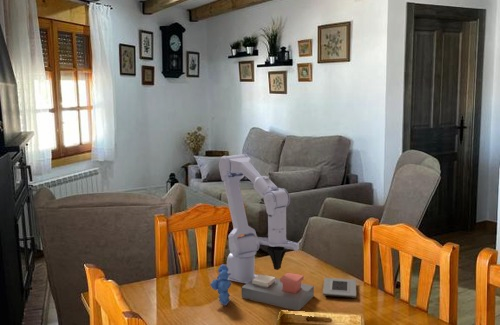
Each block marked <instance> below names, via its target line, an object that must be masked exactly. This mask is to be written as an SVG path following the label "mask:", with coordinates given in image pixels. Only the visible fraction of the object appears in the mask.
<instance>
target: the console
mask: <svg viewBox="0 0 500 325" xmlns="http://www.w3.org/2000/svg"><path fill="white" fill-rule="evenodd" d="M257 275H258V276H259V275H260V274H257ZM255 278H256V277H255ZM314 289H315V287H314V285H309V284H306V283H302V282H301V290H300V291H299V292H298V293H297V294H293V293H288V292H284V291H283V283H282V282H280V278H277V277H275V281H274V282H273V284H272V285H270V286H269V287H268V288H265V287H261V286H256V285H255V284H253V283H252V280H251V281H250V282H248V283H247V284H245V283H244V285H243V286H241V298H242V299H245V300H249V301H254V302H259V303H262V304H267V305H270V306H271V305H272V306H276V307H281V308H284V309H288V310H292V309H293V310H292V311H297V310H299V311H300V310H301V309H302V308H304V306H305V305H306V304H307V303H309V301H310V300H312V299H313V297H314V296H315V295H314V294H315V290H314Z"/></svg>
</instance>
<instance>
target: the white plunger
mask: <svg viewBox="0 0 500 325" xmlns="http://www.w3.org/2000/svg"><path fill="white" fill-rule="evenodd" d="M258 275H259V276H257V277H256V278H254V279H253V280H252V283H253V284H255V285H256V286H261V287H265V288H268V287H269V286H270V285H272V284H273V282H274V281H275V278H276V277H275V276H271V275H266V274H261V273H260V274H258Z"/></svg>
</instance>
